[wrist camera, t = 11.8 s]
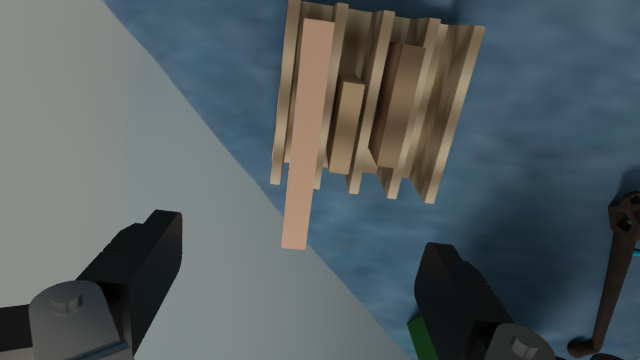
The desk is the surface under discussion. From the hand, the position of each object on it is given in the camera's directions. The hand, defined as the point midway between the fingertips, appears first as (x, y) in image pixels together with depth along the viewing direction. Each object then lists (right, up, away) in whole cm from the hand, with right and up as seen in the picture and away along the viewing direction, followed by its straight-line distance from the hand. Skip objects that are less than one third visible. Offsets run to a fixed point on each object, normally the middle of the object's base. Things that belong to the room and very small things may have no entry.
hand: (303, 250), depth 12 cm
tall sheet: (-1, +13, +30) cm, 33 cm away
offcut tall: (+7, +12, +30) cm, 34 cm away
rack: (+5, +12, +32) cm, 35 cm away
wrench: (+41, -12, +44) cm, 61 cm away
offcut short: (+3, +10, +31) cm, 33 cm away
